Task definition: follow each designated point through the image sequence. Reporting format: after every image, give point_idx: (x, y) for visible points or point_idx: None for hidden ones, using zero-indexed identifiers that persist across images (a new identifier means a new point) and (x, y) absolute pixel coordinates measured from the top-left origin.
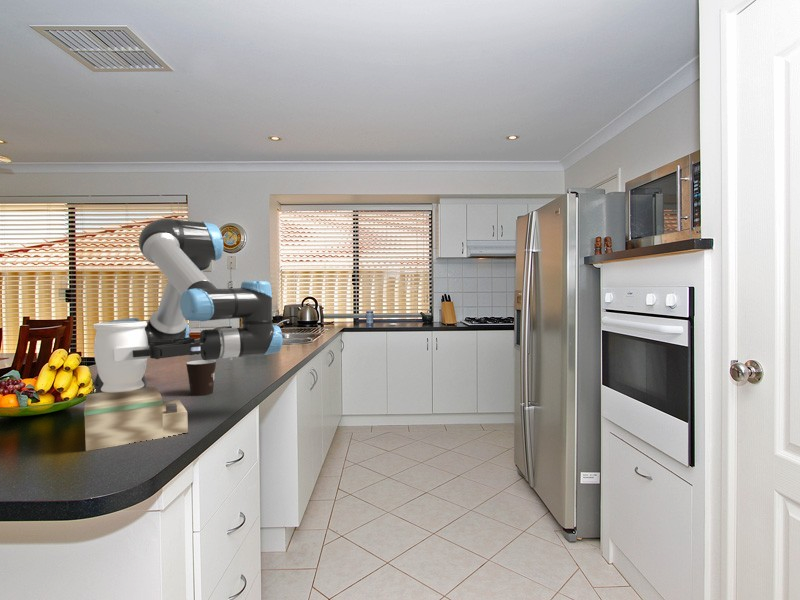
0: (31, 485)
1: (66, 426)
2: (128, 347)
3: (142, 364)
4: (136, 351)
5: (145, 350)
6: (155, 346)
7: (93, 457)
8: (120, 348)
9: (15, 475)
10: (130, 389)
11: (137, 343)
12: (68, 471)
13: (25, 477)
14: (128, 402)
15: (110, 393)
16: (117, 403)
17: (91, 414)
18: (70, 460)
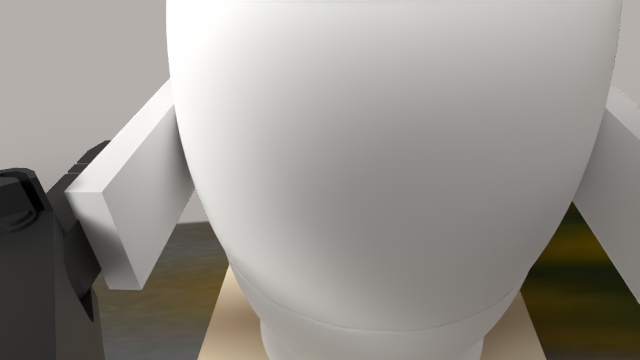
0: None
1: (597, 287)
2: (149, 103)
3: (260, 298)
4: (86, 159)
5: (49, 199)
6: (2, 240)
7: (182, 345)
8: (166, 84)
9: (200, 230)
10: (262, 336)
11: (182, 113)
12: (124, 299)
13: (169, 242)
14: (201, 354)
15: None
16: (214, 314)
17: None
18: (208, 301)
